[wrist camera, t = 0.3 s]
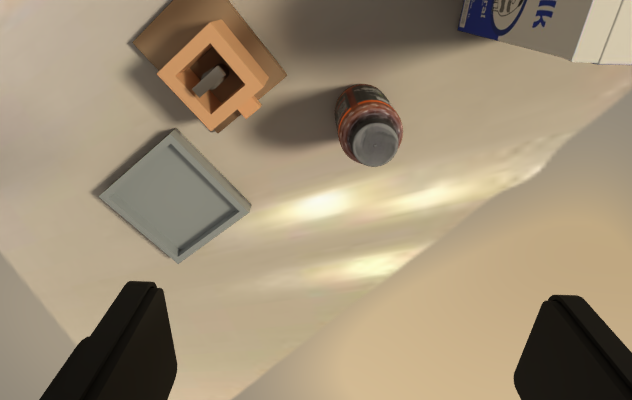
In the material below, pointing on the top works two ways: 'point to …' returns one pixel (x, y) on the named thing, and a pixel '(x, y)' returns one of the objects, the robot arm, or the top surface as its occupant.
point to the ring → (185, 79)
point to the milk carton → (556, 27)
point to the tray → (176, 198)
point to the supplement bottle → (367, 125)
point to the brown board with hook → (214, 72)
